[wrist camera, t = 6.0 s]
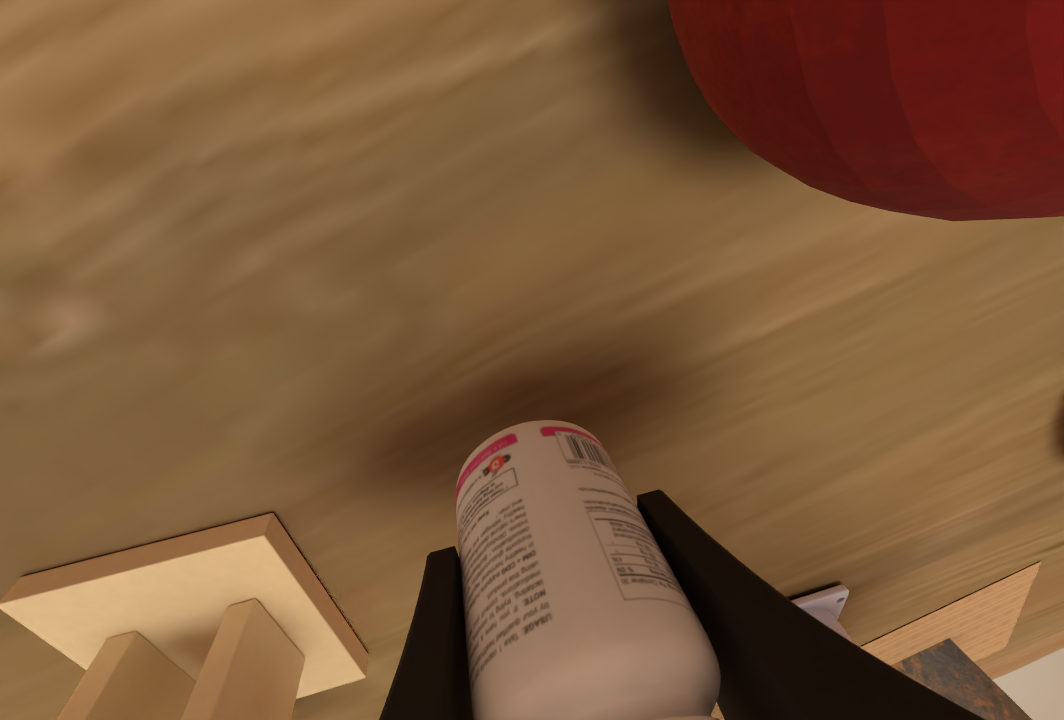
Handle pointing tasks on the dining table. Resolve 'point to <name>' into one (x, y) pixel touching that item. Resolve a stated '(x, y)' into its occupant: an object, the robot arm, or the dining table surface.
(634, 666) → the pill bottle
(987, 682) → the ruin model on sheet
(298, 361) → the dining table surface
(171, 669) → the bracket
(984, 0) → the apple
